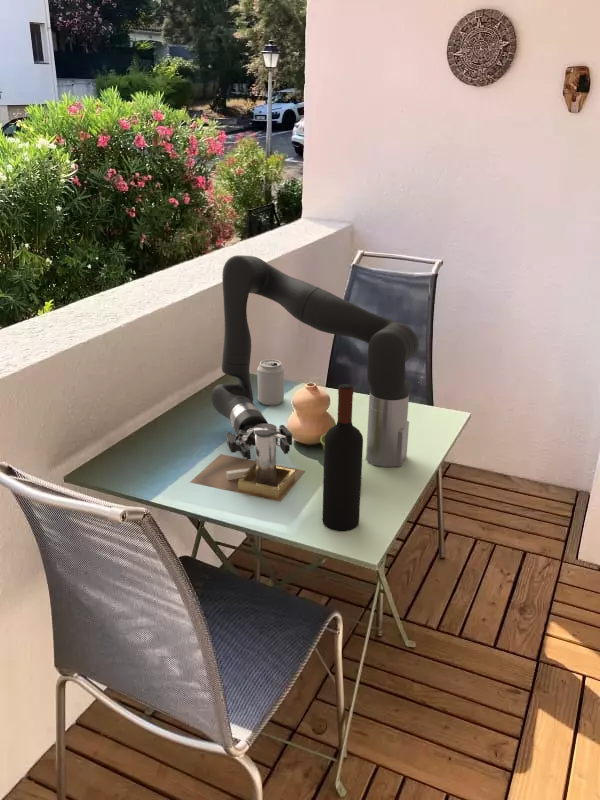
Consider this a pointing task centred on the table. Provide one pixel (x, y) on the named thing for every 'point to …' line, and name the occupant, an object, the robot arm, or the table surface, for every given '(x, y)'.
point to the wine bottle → (342, 468)
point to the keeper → (266, 490)
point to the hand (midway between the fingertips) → (268, 452)
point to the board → (217, 478)
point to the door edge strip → (240, 473)
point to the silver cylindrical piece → (266, 454)
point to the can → (270, 382)
